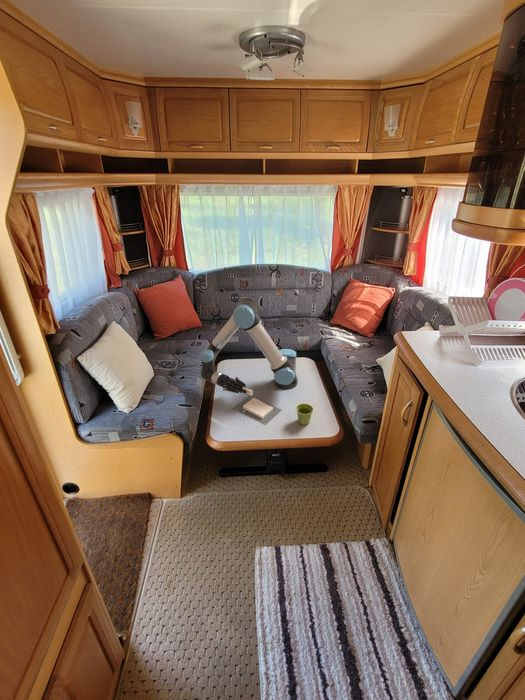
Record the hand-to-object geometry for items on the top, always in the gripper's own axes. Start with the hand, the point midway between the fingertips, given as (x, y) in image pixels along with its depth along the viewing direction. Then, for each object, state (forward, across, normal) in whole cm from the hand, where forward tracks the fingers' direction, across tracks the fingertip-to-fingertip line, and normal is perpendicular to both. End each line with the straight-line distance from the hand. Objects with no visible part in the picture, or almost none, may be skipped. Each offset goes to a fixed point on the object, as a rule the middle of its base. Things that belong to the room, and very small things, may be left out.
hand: (252, 393), depth 194 cm
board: (+3, 0, -11) cm, 12 cm away
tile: (-3, 0, -8) cm, 9 cm away
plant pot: (+30, -8, -11) cm, 33 cm away
